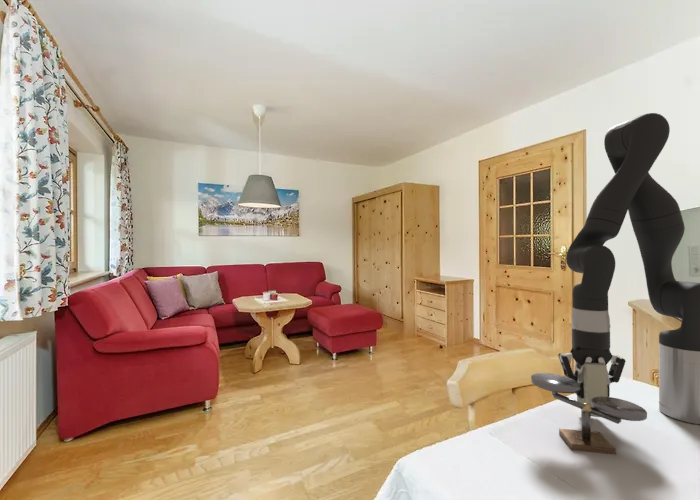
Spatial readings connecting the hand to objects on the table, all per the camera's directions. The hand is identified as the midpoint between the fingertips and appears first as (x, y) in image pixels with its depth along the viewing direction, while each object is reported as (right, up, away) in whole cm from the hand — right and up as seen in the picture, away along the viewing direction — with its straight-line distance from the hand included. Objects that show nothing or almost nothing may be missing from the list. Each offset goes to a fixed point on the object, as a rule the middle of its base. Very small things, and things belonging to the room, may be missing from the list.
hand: (591, 397), depth 80 cm
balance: (-8, -5, -10) cm, 14 cm away
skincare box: (0, -4, 0) cm, 4 cm away
